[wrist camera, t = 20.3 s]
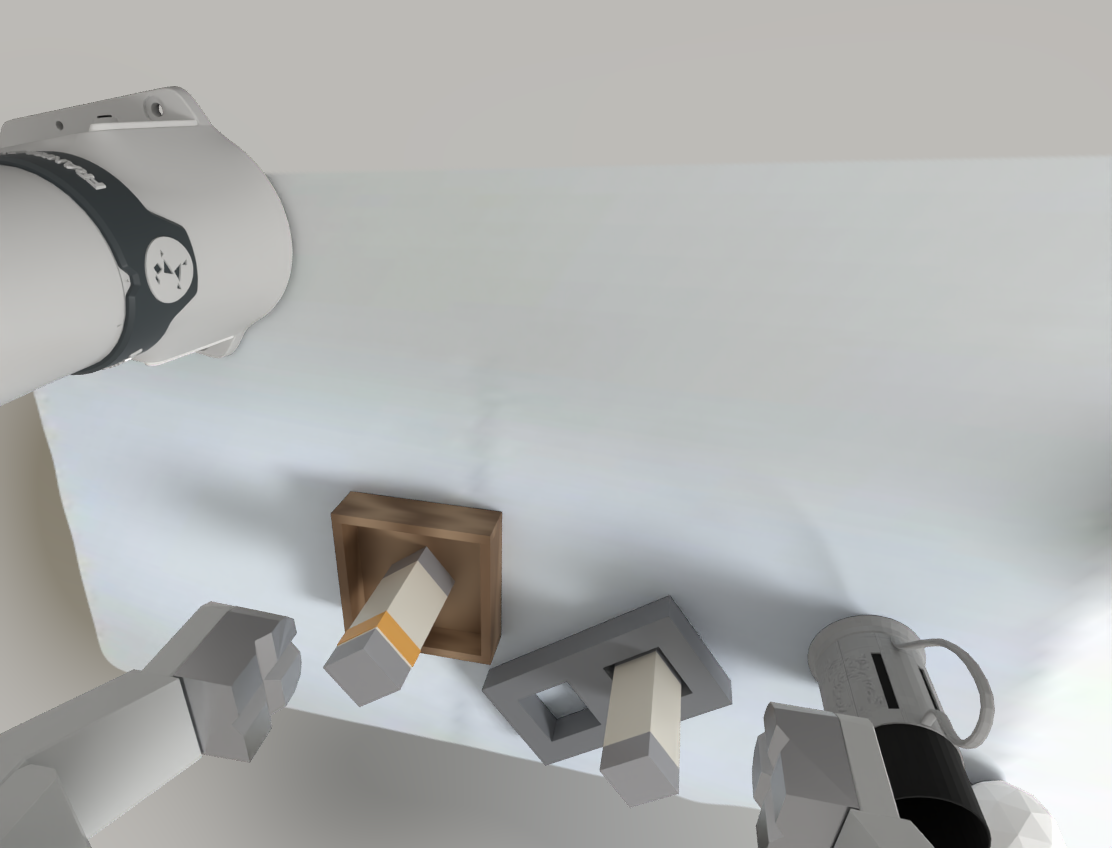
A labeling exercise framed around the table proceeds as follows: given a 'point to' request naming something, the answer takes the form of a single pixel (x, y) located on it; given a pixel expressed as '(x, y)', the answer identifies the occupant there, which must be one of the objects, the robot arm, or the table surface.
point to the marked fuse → (390, 628)
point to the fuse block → (602, 678)
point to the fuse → (643, 729)
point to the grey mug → (906, 721)
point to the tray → (458, 544)
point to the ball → (1016, 817)
